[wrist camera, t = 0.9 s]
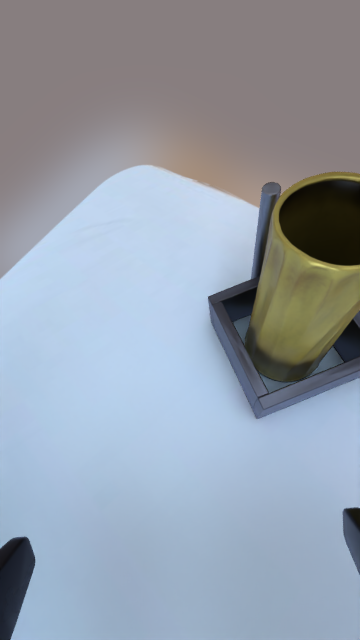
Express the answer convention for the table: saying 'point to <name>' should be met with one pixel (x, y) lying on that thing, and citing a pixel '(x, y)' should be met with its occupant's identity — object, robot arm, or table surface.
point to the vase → (307, 276)
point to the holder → (237, 302)
